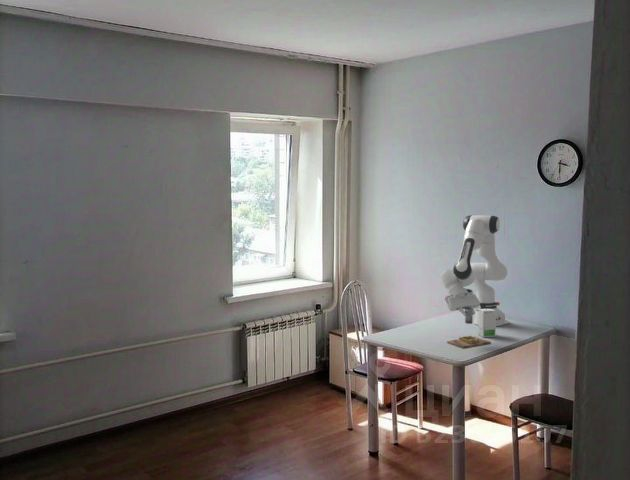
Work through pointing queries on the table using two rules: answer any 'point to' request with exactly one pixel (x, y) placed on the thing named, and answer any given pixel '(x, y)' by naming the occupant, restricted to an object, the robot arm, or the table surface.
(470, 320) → the cylinder
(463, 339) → the collar board
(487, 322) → the skincare box
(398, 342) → the table surface
